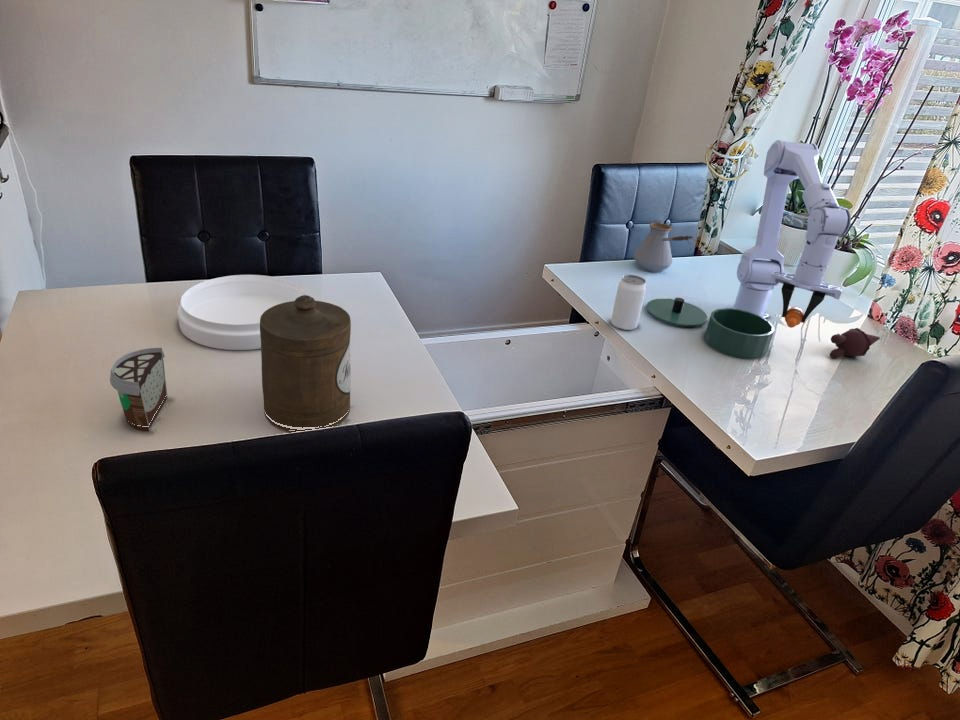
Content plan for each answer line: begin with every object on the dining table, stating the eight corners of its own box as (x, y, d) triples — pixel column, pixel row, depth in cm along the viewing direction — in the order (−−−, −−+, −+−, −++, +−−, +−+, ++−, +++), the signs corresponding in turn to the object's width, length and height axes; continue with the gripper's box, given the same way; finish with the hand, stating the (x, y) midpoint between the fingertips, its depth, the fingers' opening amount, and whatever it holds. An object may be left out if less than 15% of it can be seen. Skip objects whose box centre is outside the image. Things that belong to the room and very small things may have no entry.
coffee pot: (624, 260, 203) (635, 212, 196) (657, 259, 207) (668, 212, 199) (662, 289, 186) (675, 237, 178) (696, 287, 189) (711, 237, 182)
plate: (296, 290, 161) (295, 269, 159) (324, 341, 141) (323, 318, 138) (174, 301, 150) (171, 278, 147) (185, 358, 129) (182, 333, 127)
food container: (133, 394, 117) (124, 344, 113) (170, 395, 118) (163, 346, 113) (106, 436, 107) (94, 382, 102) (146, 437, 108) (137, 384, 103)
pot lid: (665, 297, 181) (669, 282, 178) (717, 318, 172) (721, 303, 169) (633, 311, 171) (637, 295, 168) (686, 334, 162) (691, 318, 159)
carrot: (797, 300, 154) (808, 311, 154) (784, 309, 156) (795, 320, 156) (792, 313, 146) (803, 325, 146) (778, 323, 149) (789, 335, 148)
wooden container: (363, 421, 117) (365, 308, 106) (280, 443, 110) (273, 323, 99) (331, 380, 128) (330, 274, 117) (253, 398, 120) (244, 285, 109)
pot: (721, 325, 169) (728, 303, 166) (776, 347, 160) (784, 325, 157) (693, 340, 159) (699, 317, 156) (749, 365, 151) (757, 341, 148)
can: (637, 332, 160) (648, 286, 154) (609, 328, 160) (619, 282, 155) (636, 321, 165) (647, 276, 159) (610, 317, 166) (620, 272, 160)
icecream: (867, 320, 164) (819, 329, 159) (894, 327, 157) (845, 336, 153) (864, 347, 166) (817, 357, 161) (891, 355, 159) (842, 365, 155)
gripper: (776, 258, 145) (757, 314, 151) (848, 276, 139) (825, 334, 146) (781, 250, 150) (762, 304, 157) (850, 267, 144) (828, 323, 151)
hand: (793, 318), depth 151 cm, fingers closed on carrot, 3 cm apart
